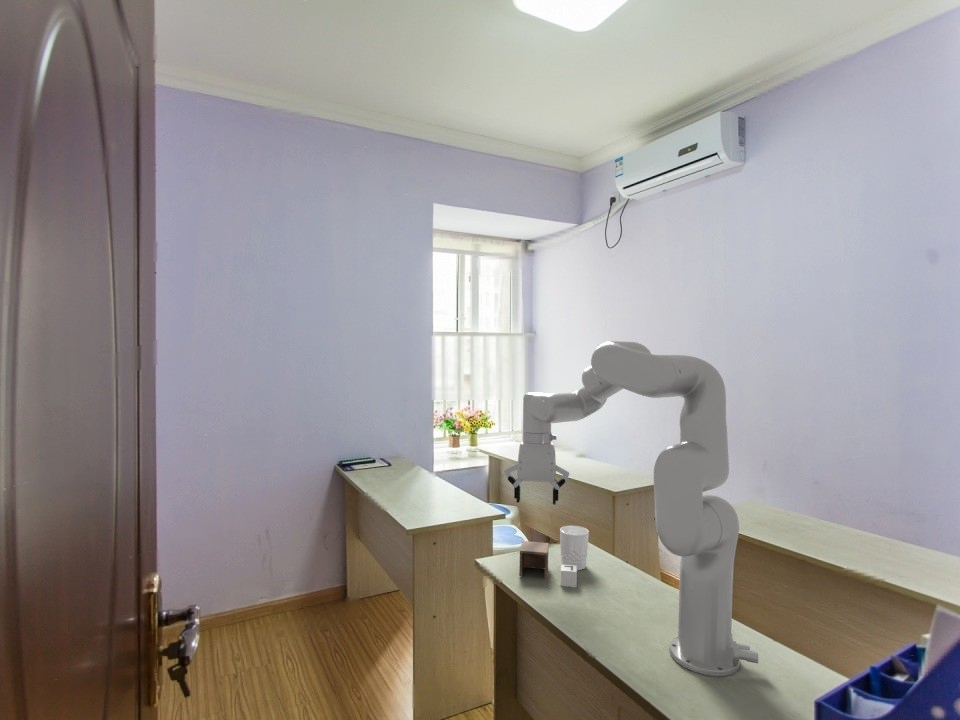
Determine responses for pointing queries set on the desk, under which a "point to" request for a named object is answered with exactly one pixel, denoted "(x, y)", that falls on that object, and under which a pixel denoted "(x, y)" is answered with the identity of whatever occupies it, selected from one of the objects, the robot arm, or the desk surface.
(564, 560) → the white cup
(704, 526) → the robot arm
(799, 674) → the desk surface
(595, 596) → the desk surface
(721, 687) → the desk surface
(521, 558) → the brown open box
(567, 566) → the cube
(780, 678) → the desk surface
